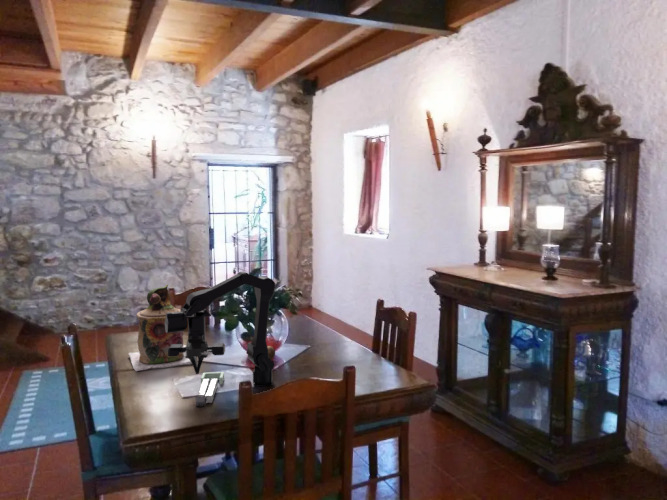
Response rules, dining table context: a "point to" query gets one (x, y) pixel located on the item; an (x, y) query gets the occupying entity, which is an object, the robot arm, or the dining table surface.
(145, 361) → the cookie jar
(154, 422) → the dining table surface
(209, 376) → the lock clip
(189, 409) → the dining table surface
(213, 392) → the tongs fixed arm
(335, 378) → the dining table surface
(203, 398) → the tong arm
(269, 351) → the mushroom
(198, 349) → the robot arm
